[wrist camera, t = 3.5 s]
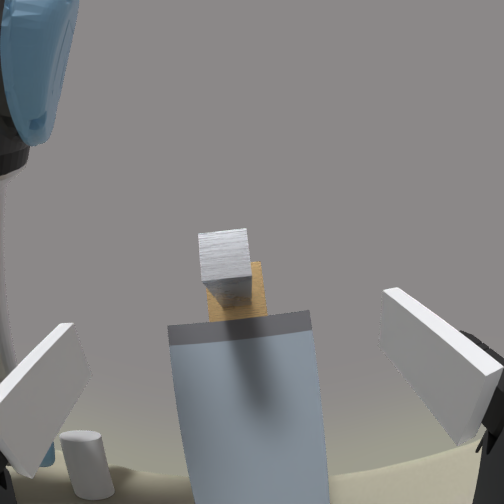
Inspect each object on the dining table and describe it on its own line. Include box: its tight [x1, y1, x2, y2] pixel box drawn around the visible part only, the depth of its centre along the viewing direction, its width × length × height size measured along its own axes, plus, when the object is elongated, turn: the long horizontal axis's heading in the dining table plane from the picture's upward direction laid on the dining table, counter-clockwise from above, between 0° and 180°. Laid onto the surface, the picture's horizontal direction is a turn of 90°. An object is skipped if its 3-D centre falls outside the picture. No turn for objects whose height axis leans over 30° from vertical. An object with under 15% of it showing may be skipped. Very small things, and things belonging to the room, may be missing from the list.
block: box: [198, 228, 268, 322], centre depth 30 cm, size 24×6×6 cm, turn 0°
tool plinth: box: [168, 310, 330, 504], centre depth 33 cm, size 16×14×30 cm
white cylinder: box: [59, 430, 115, 500], centre depth 38 cm, size 8×8×12 cm
